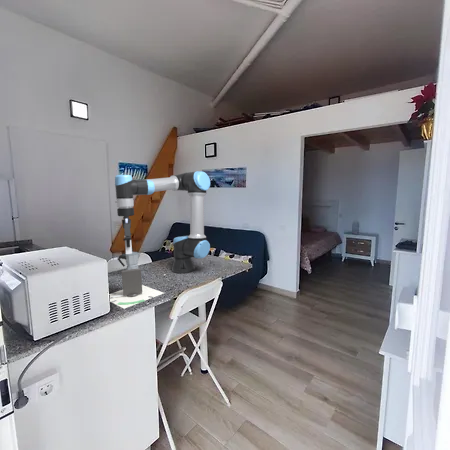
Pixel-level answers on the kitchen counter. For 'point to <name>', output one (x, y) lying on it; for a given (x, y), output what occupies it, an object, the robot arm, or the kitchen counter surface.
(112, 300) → the board
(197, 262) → the kitchen counter surface
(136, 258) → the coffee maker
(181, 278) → the kitchen counter surface
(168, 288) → the kitchen counter surface
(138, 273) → the grey piece
